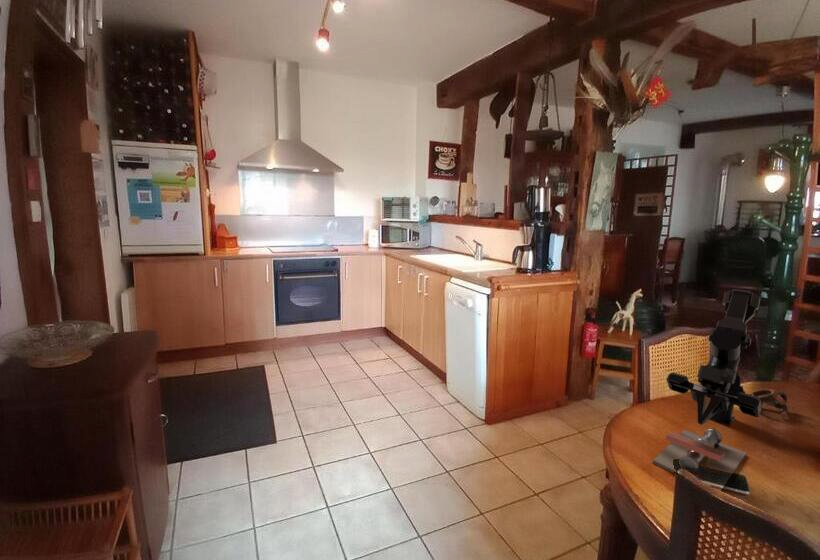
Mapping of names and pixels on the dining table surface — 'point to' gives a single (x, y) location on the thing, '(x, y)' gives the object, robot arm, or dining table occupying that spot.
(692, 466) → the pipe and valve
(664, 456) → the mounting board
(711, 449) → the valve lever
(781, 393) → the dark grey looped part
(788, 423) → the dining table surface
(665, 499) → the dining table surface
